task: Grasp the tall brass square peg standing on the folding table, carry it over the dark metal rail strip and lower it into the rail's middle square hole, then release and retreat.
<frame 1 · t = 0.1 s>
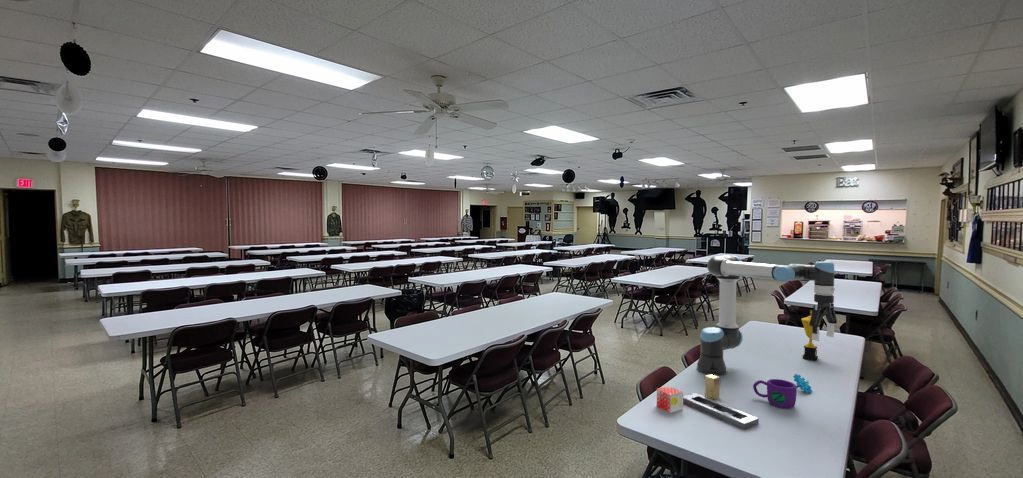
hand: (823, 338, 200), 28 cm above the table, fingers open, 13 cm apart
rail: (717, 412, 184), on the table
brass peg: (712, 397, 201), on the table
red patterned cube: (669, 408, 189), on the table
gear: (802, 391, 208), on the table
mug: (773, 403, 194), on the table
trophy: (810, 358, 259), on the table
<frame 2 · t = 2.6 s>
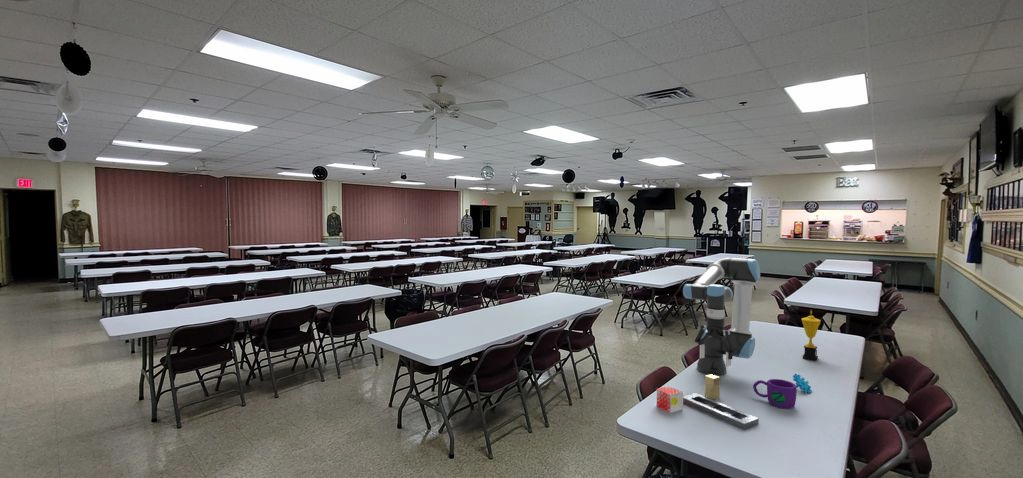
hand: (714, 361, 200), 17 cm above the table, fingers open, 13 cm apart
nothing on the table moved.
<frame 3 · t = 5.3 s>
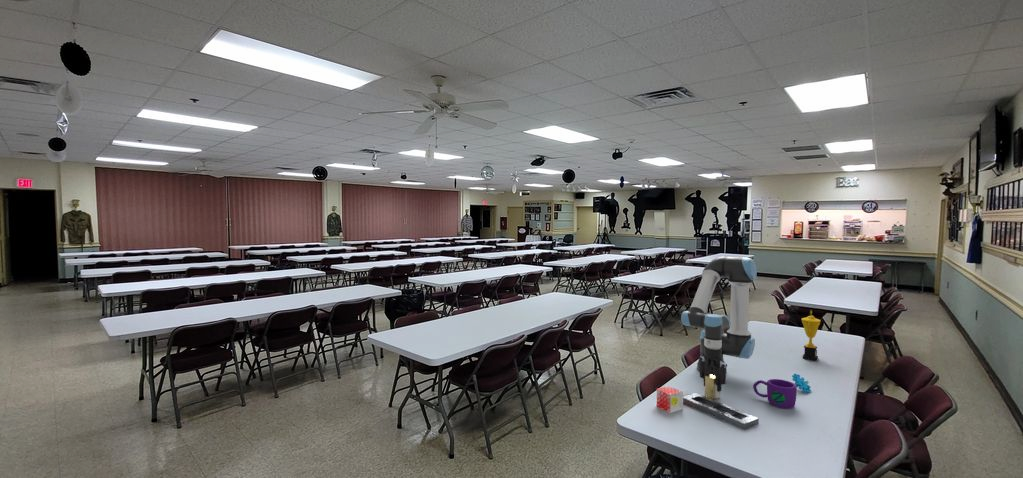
hand: (712, 395, 201), 1 cm above the table, fingers closed on brass peg, 4 cm apart
brass peg: (712, 397, 201), on the table, touching gripper
everything else where it was.
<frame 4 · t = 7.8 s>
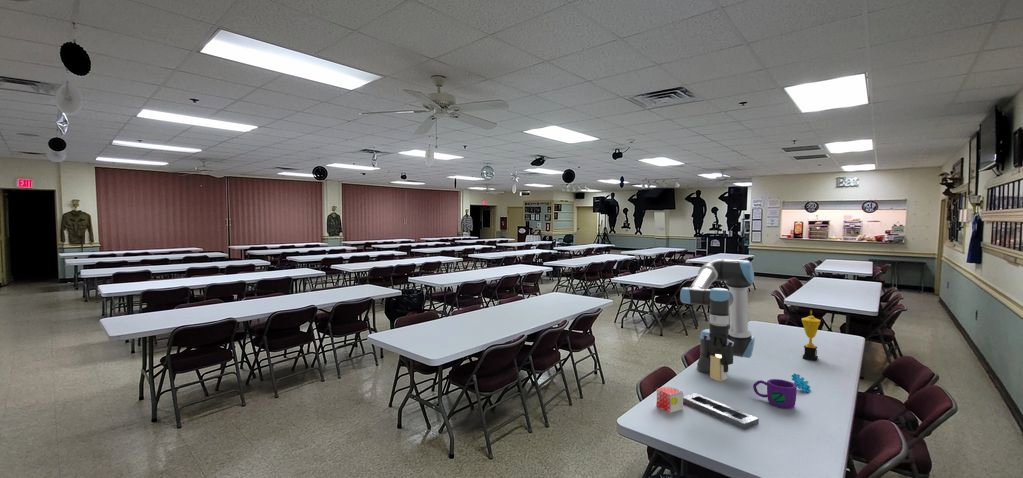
hand: (718, 377, 183), 16 cm above the table, fingers closed on brass peg, 4 cm apart
brass peg: (718, 378, 183), point 15 cm above the table, touching gripper
everything else where it was.
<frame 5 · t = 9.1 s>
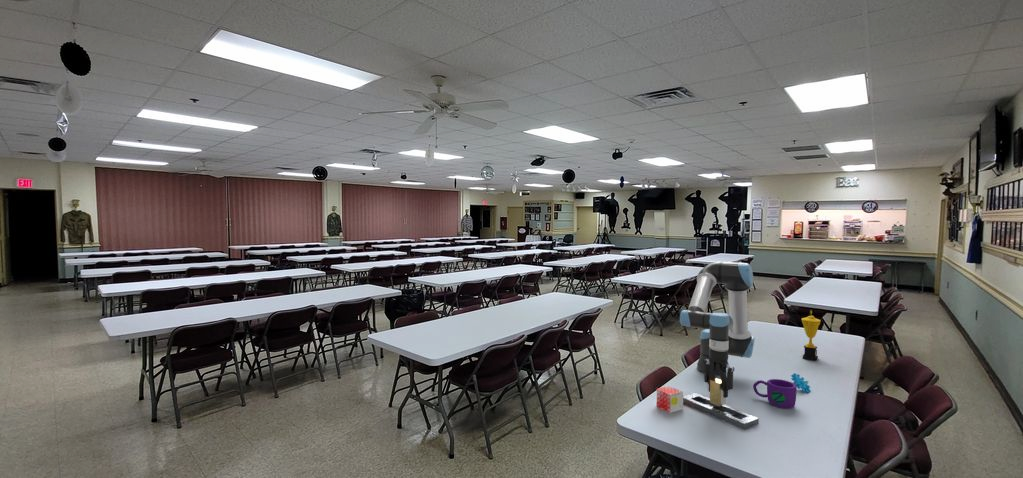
hand: (717, 401, 184), 5 cm above the table, fingers closed on brass peg, 4 cm apart
brass peg: (717, 403, 184), point 4 cm above the table, touching gripper
everything else where it was.
when the fingers open (3 cm above the table, at t = 10.1 s): brass peg drops 2 cm, resting in rail.
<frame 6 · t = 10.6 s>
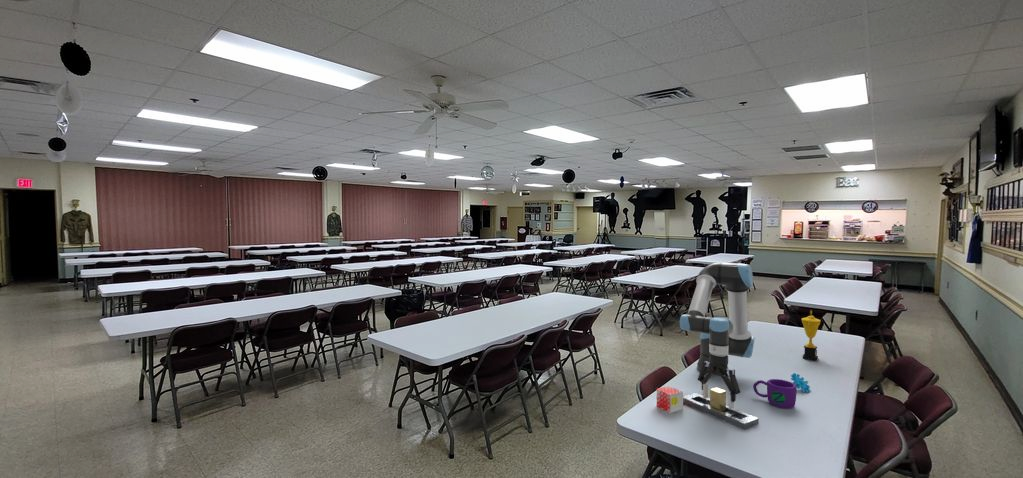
hand: (718, 403, 184), 4 cm above the table, fingers open, 11 cm apart
brass peg: (717, 412, 184), resting in rail
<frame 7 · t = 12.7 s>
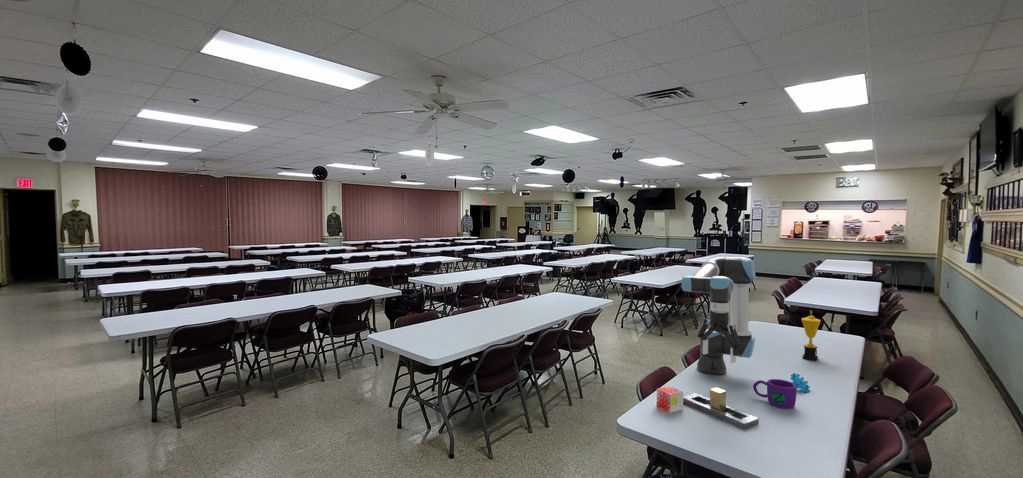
hand: (718, 358, 189), 22 cm above the table, fingers open, 13 cm apart
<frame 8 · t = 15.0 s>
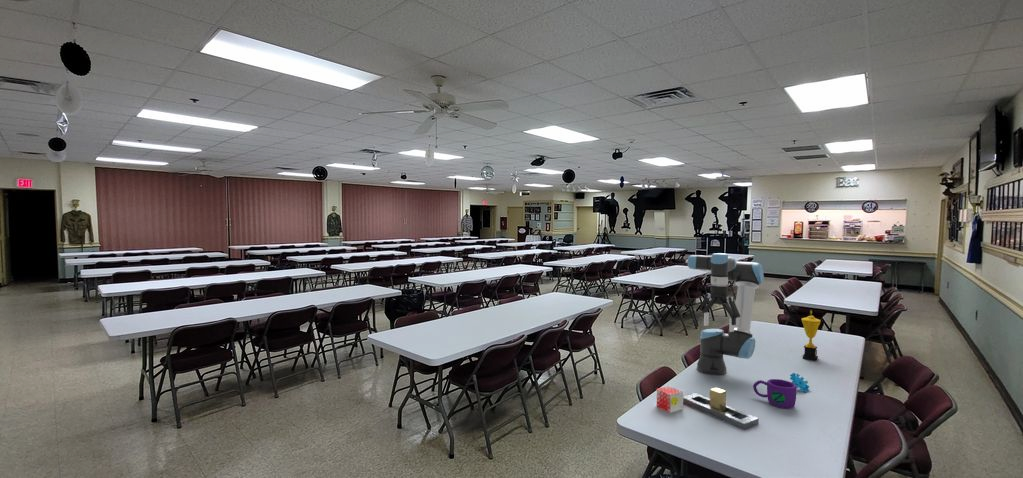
hand: (718, 328, 205), 32 cm above the table, fingers open, 13 cm apart
at the end: brass peg 0.0 cm off-centre on the rail, point 0.0 cm above the rail's base; brass peg tilted 0°; the gripper is holding nothing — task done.
